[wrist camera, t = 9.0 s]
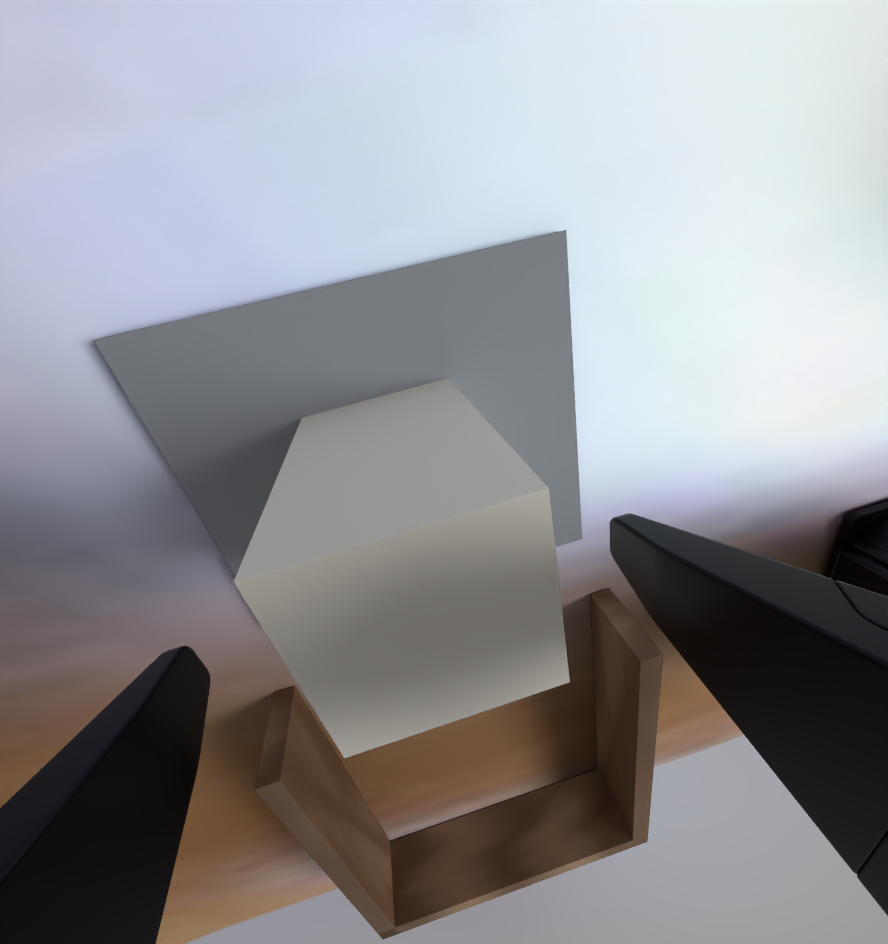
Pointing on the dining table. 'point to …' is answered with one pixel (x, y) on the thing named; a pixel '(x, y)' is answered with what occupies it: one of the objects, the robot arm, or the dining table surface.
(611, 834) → the u-shaped frame
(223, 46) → the dining table surface
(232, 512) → the mat
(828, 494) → the dining table surface
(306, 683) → the block
